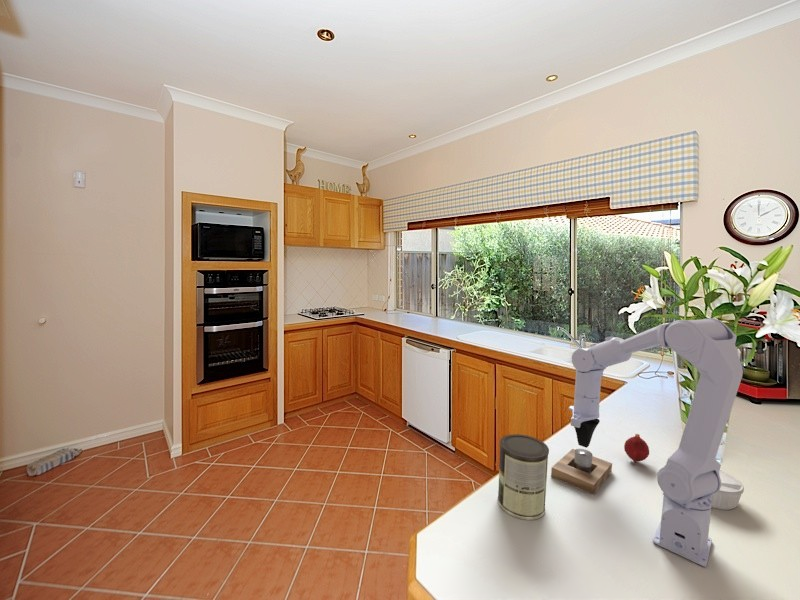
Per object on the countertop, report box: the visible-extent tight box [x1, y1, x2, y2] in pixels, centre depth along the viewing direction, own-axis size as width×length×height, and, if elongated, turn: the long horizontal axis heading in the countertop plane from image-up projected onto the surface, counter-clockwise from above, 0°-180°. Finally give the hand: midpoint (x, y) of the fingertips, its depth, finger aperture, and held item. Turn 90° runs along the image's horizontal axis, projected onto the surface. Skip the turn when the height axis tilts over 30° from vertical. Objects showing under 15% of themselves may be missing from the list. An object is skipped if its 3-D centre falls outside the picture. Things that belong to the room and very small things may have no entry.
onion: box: [623, 433, 650, 463], centre depth 98 cm, size 6×6×8 cm
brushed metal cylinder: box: [574, 448, 593, 474], centre depth 91 cm, size 4×4×6 cm
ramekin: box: [711, 469, 745, 511], centre depth 83 cm, size 11×11×5 cm
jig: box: [550, 448, 613, 496], centre depth 92 cm, size 14×10×2 cm
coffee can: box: [497, 433, 550, 521], centre depth 79 cm, size 10×10×14 cm
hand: (583, 445), depth 91 cm, fingers closed
